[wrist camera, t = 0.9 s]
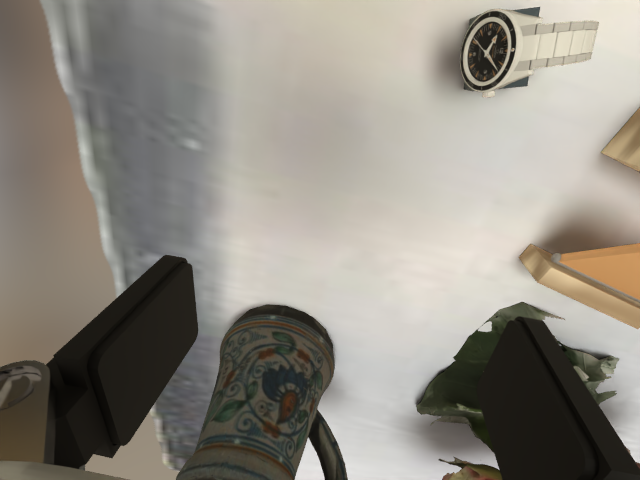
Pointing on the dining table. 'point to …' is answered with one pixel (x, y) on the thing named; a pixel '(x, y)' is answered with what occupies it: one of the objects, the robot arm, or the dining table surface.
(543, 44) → the watch
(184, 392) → the dining table surface
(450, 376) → the rose bouquet
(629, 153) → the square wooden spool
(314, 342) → the beer stein
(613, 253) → the flap
